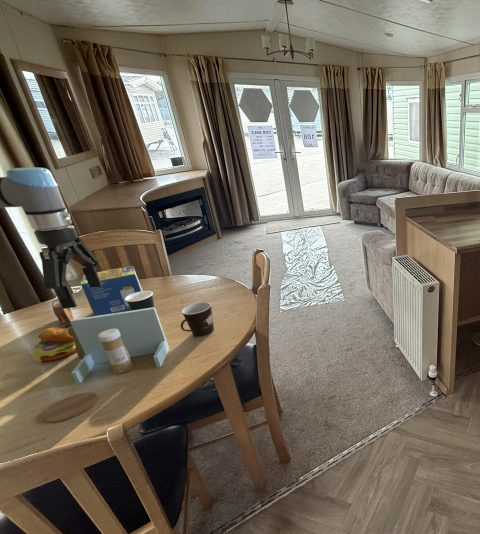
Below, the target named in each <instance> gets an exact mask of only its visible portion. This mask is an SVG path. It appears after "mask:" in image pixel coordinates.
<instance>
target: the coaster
mask: <svg viewBox="0 0 480 534" xmlns="http://www.w3.org/2000/svg"><path fill="white" fill-rule="evenodd" d="M98 399H99V396H98V395H97V394H96V393H94V392H90V391H88V392H81V393H77V394H73V395H69V396H68V397H66V398H63V399H61V400H59V401H57V402H56V403H55V404H53V405H52V406H50V407H49V408H48V409H47V410H46V411H45V413H44V415H43V419H44V421H45V422H47V423H61V422H65V421H68V420H71V419H74V418H76V417H78V416H80V415H82V414H84V413H85V412H87V411H89V409H91V408H93V406H95V404H96V403H97V402H98Z"/></svg>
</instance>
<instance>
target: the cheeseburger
mask: <svg viewBox="0 0 480 534" xmlns="http://www.w3.org/2000/svg"><path fill="white" fill-rule="evenodd" d="M70 327H71V326H69V327H67V328H64V327H63V328H62V327H57V326H53V327H47V328H45V329H43V330H42V331H41V332H40V333H39V335H38V339H39V341H38V344H36V345H35V348H34V359H35V361H36V362H39V363H42V362H46V361H53V360H58V359H62V358H66V357H68V356H70V355H72V354H74V353H75V352H77V350H76V346H75V342H74V338H73V337H72V336H70V335H69V333H68V329H69V328H70Z"/></svg>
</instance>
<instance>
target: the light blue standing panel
mask: <svg viewBox="0 0 480 534" xmlns="http://www.w3.org/2000/svg"><path fill="white" fill-rule="evenodd" d="M70 323H71V326H72V327H73V329H74V331H75V333H76V335H77V337H78V339H79V342H80V344H81V346H82V348H83V350H84V352H85V354H86V355H85V356H84V358H83V359H80V361H79V363H78V364H77V365H76V366H75V368H74V369H73V370H72V371H71V373H70V374H71V377H72V378H73V380H74V382H75V384H76V385H80V384H82V382H83V381H84V379H86V377H87V376H88V374H89V373H90V372H91V370H92V369H93V368H94V367H95V365H99V364H105V363H110V361H109V358H108V356H107V354H106V352H105V349H104V346H103V344H102V343H101V341H100V340H99V338H98V335H99V334H100V333H101V332H103V331H106V330H109V329H118V330H119V332H120V334H121V339H122V341H123V343H124V345H125V348H126V349H127V352H128V354H129V356H130V359H131V358H136V357H140V356H147V355H152V354H154V355H153V360H154V363H155V365H156V368H161V367H162V366H163V363H164V361H165V360H166V356H167V355H168V353H169V350H170V346H169V343H168V341H167V337H166V335H165V332H164V329H163V326H162V323H161V320H160V318H159V314H158V311H157V309H156V308H155V306H154V308H147V309H140V310H134V311H127V312H120V313H114V314H107V315H100V316H94V315H93V316H89V317H88V316H87V317H81V318H73V320H71V321H70Z"/></svg>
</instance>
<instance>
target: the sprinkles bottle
mask: <svg viewBox="0 0 480 534" xmlns="http://www.w3.org/2000/svg"><path fill="white" fill-rule="evenodd" d="M98 338H99V340H100V341H101V343H102V344H103V346H104V349H105V352H106V354H107V356H108V358H109V361H110V362H109V363H110V364H111V367H112V368H113V372H114V373H115V374H123V373H126V372H129V371H130V370H132V369H133V367H134V363H133V362H132V360H131V358H130V356H129V354H128V352H127V349H126V348H125V345H124V343H123V341H122V339H121V334H120V332H119V330H118V329H109V330H106V331H103V332H101V333H100V334H99V335H98Z"/></svg>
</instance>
